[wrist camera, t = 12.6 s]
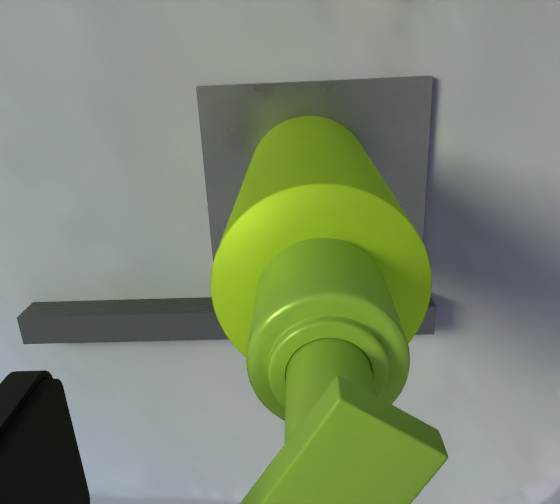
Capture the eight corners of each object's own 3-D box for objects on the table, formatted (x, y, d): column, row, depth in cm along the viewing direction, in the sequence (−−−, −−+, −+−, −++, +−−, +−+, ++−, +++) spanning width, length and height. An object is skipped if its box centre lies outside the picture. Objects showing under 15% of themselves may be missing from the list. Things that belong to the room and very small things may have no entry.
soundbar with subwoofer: (39, 331, 30) (24, 348, 29) (-17, 95, 26) (-39, 99, 24) (425, 322, 29) (433, 338, 28) (441, 75, 25) (452, 77, 23)
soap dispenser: (218, 210, 27) (47, 583, 8) (290, 91, 25) (273, 237, 6) (314, 267, 28) (352, 711, 9) (392, 157, 26) (643, 455, 7)
